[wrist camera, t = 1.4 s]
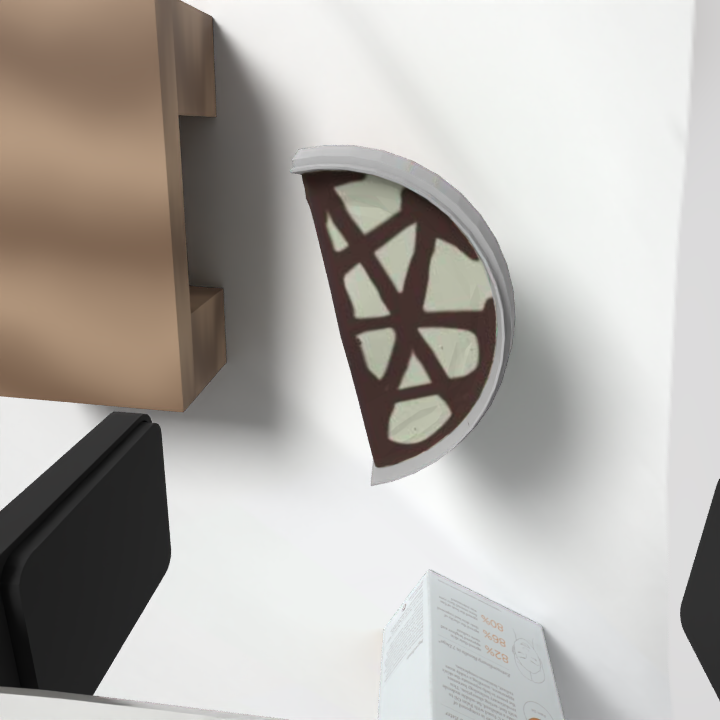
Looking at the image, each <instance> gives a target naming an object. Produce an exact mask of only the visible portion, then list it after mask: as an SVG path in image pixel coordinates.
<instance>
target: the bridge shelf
mask: <svg viewBox="0 0 720 720" xmlns="http://www.w3.org/2000/svg"><path fill="white" fill-rule="evenodd" d="M178 115H185V116H206V117H216V93H215V69H214V44H213V19H212V16H210V15H208V14H206V13H204V12H202V11H200V10H198V9H196V8H194V7H192V6H190V5H188V4H186V3H184V2H182V1H181V0H0V396H4V397H15V398H27V399H38V400H49V401H61V402H72V403H83V404H95V405H106V406H118V407H129V408H140V409H152V410H163V411H175V412H184V411H185V410H186V409H187V408H188V407H189V405H190V404H191V403H192V402H193V401H194V400H195V398H196V397H197V396H198V395H199V394H200V393H201V391H202V390H203V389H204V388H205V387H206V386H207V384H208V383H209V382H210V381H211V380H212V379H213V377H214V376H215V375H216V374H217V373H218V372H219V370H220V369H221V368H222V367H223V366H224V365H225V363H226V340H225V315H224V291H223V288H211V287H196V286H189V278H188V262H187V246H186V230H185V213H184V197H183V181H182V165H181V149H180V132H179V116H178Z"/></svg>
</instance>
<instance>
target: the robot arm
mask: <svg viewBox="0 0 720 720" xmlns="http://www.w3.org/2000/svg"><path fill="white" fill-rule="evenodd" d="M170 558H171V543H170V531H169V519H168V507H167V495H166V483H165V471H164V459H163V446H162V434H161V428H160V426H159V425H158V424H157V423H152V421H151V418H150V417H149V416H148V415H147V414H137V413H126V412H113V413H111V414H110V415H108V416H107V417H106V418H105V419H104V420H103V421H102V422H101V423H99V424H98V425H97V426H96V427H95V428H94V429H93V430H92V431H90V432H89V433H88V434H87V435H86V436H85V437H84V438H82V439H81V440H80V441H79V442H78V443H77V444H76V445H75V446H73V447H72V448H71V449H70V450H69V451H68V452H67V453H66V454H64V455H63V456H62V457H61V458H60V459H59V460H58V461H57V462H55V463H54V464H53V465H52V466H51V467H50V468H49V469H47V470H46V471H45V472H44V473H43V474H42V475H41V476H40V477H38V478H37V479H36V480H35V481H34V482H33V483H32V484H31V485H29V486H28V487H27V488H26V489H25V490H24V491H23V492H21V493H20V494H19V495H18V496H17V497H16V498H15V499H14V500H12V501H11V502H10V503H9V504H8V505H7V506H6V507H5V508H3V509H2V510H1V511H0V720H288V719H280V718H272V717H264V716H256V715H248V714H240V713H231V712H223V711H215V710H207V709H199V708H191V707H183V706H175V705H167V704H159V703H151V702H143V701H135V700H126V699H118V698H109V697H100V696H93V694H94V693H95V691H96V689H97V688H98V686H99V684H100V682H101V681H102V679H103V677H104V676H105V674H106V672H107V671H108V669H109V667H110V666H111V664H112V662H113V661H114V659H115V657H116V656H117V654H118V652H119V651H120V649H121V647H122V646H123V644H124V642H125V641H126V639H127V637H128V635H129V634H130V632H131V630H132V629H133V627H134V625H135V624H136V622H137V620H138V619H139V617H140V615H141V614H142V612H143V610H144V609H145V607H146V605H147V604H148V602H149V600H150V599H151V597H152V595H153V594H154V592H155V590H156V588H157V587H158V585H159V583H160V582H161V580H162V578H163V577H164V575H165V573H166V571H167V569H168V566H169V563H170ZM680 617H681V623H682V627H683V630H684V632H685V634H686V636H687V638H688V640H689V642H690V644H691V646H692V648H693V650H694V651H695V653H696V655H697V657H698V659H699V661H700V663H701V665H702V667H703V669H704V671H705V673H706V675H707V677H708V679H709V681H710V683H711V684H712V687H713V688H714V690H715V692H716V694H717V696H718V698H719V700H720V479H719V481H718V483H717V486H716V490H715V493H714V496H713V499H712V503H711V506H710V510H709V513H708V516H707V520H706V523H705V526H704V530H703V533H702V537H701V540H700V543H699V546H698V550H697V554H696V557H695V560H694V563H693V567H692V570H691V573H690V577H689V580H688V584H687V587H686V590H685V594H684V597H683V600H682V604H681V609H680Z"/></svg>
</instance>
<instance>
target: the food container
mask: <svg viewBox="0 0 720 720" xmlns="http://www.w3.org/2000/svg"><path fill="white" fill-rule="evenodd" d="M292 162H293V166H294V168H292V169H290V172H291V173H296V174H301V175H302V179H303V184H304V187H305V193H306V199H307V201H308V204H309V206H310V209H311V213H312V216H313V220H314V224H315V228H316V232H317V236H318V240H319V244H320V249H321V253H322V257H323V261H324V265H325V269H326V273H327V278H328V282H329V286H330V290H331V295H332V299H333V304H334V308H335V313H336V317H337V322H338V326H339V331H340V335H341V339H342V343H343V346H344V350H345V353H346V357H347V360H348V363H349V367H350V370H351V374H352V378H353V382H354V386H355V389H356V393H357V397H358V401H359V405H360V409H361V413H362V417H363V421H364V425H365V429H366V432H367V436H368V440H369V444H370V448H371V452H372V456H373V466H372V476H371V486H374V485H378V484H383V483H387V482H392V481H395V480H398V479H400V478H403V477H406V476H408V475H411V474H414V473H416V472H418V471H420V470H422V469H423V468H425V467H427V466H429V465H431V464H433V463H434V462H436V461H437V460H439V459H440V458H441V457H443V456H444V455H445V454H447V453H448V452H449V451H450V450H452V449H453V448H454V447H456V445H458V444H459V443H460V442H461V441H462V440H463V439H464V438H465V437H466V436H467V435H468V434H469V433H470V432H471V431H472V430H473V429H474V428H475V427H476V425H477V424H478V423H479V421H480V420H481V418H482V417H483V416H484V414H485V413H486V411H487V410H488V408H489V407H490V405H491V404H492V401H493V399H494V397H495V395H496V393H497V391H498V389H499V387H500V385H501V383H502V379H503V376H504V372H505V369H506V365H507V362H508V358H509V354H510V351H511V347H512V343H513V333H514V323H515V308H514V293H513V287H512V283H511V279H510V275H509V270H508V266H507V263H506V261H505V258H504V256H503V254H502V251H501V249H500V247H499V244H498V242H497V240H496V238H495V236H494V235H493V233H492V231H491V230H490V228H489V227H488V225H487V224H486V222H485V221H484V219H483V217H482V216H481V214H480V213H479V212H478V211H477V210H476V209H475V208H474V207H473V206H472V204H471V203H470V202H469V201H468V200H467V199H466V198H465V197H464V196H463V195H462V193H460V192H459V191H458V190H457V189H455V188H454V187H453V186H452V185H450V184H449V183H448V182H446V181H445V180H444V179H443V178H441V177H440V176H439V175H437V174H436V173H434V172H432V171H430V170H428V169H427V168H425V167H423V166H421V165H419V164H417V163H416V162H414V161H412V160H409V159H406V158H403V157H401V156H398V155H395V154H392V153H389V152H386V151H383V150H378V149H372V148H366V147H360V146H355V145H323V146H317V147H310V148H304V149H299V150H298V151H297V153H296V154H295V156H294V158H293V159H292Z"/></svg>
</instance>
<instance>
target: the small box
mask: <svg viewBox="0 0 720 720" xmlns="http://www.w3.org/2000/svg"><path fill="white" fill-rule="evenodd" d="M378 720H565V718H564V714H563V710H562V706H561V702H560V698H559V694H558V690H557V686H556V681H555V678H554V673H553V669H552V665H551V661H550V657H549V653H548V649H547V645H546V641H545V637H544V633H543V628H542V626H541V625H539V624H537V623H535V622H533V621H531V620H529V619H527V618H525V617H523V616H521V615H519V614H517V613H515V612H513V611H511V610H509V609H507V608H505V607H503V606H501V605H499V604H497V603H495V602H493V601H491V600H489V599H487V598H485V597H483V596H481V595H479V594H477V593H475V592H473V591H471V590H469V589H467V588H465V587H463V586H461V585H459V584H457V583H455V582H453V581H451V580H449V579H447V578H445V577H443V576H441V575H439V574H437V573H435V572H433V571H431V570H427V572H426V573H425V575H424V576H423V577H422V579H421V580H420V581H419V583H418V584H417V585H416V587H415V588H414V589H413V591H412V592H411V593H410V595H409V596H408V597H407V599H406V600H405V601H404V603H403V604H402V605H401V607H400V608H399V610H398V611H397V612H396V614H395V615H394V616H393V618H392V619H391V620H390V622H389V623H388V624H387V626H386V627H385V628H384V632H383V646H382V660H381V676H380V690H379V705H378Z"/></svg>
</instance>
